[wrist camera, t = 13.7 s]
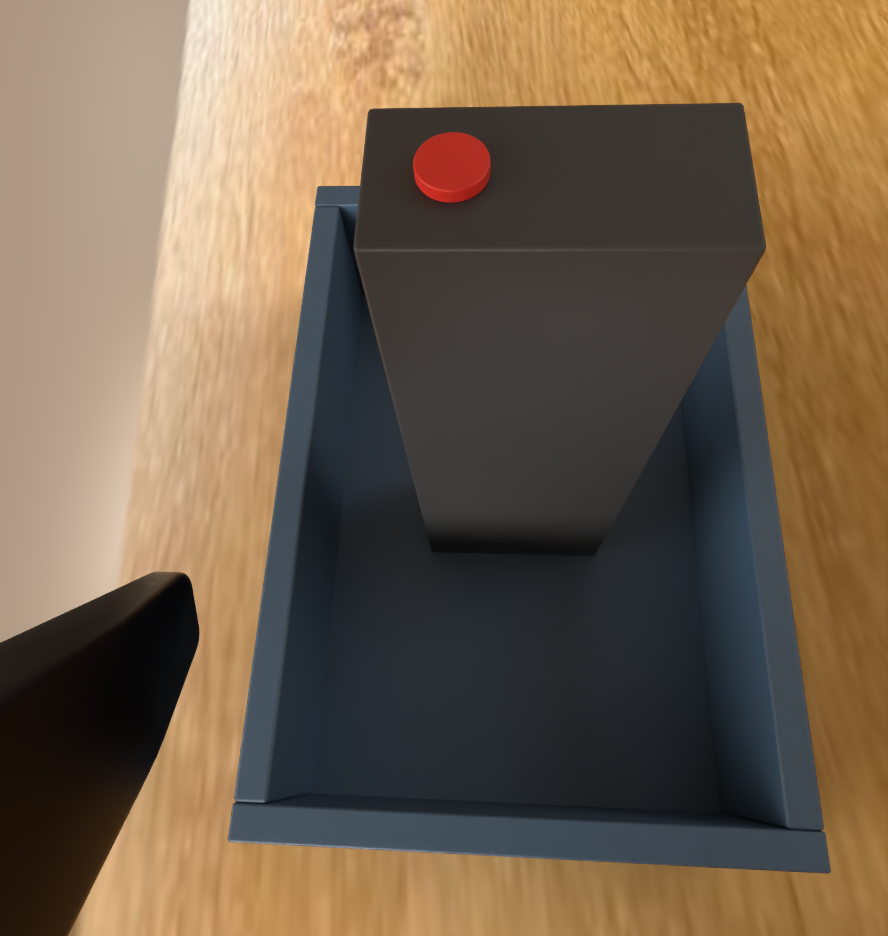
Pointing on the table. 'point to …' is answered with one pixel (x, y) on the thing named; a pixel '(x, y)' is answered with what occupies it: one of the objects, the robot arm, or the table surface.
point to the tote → (523, 638)
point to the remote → (547, 301)
